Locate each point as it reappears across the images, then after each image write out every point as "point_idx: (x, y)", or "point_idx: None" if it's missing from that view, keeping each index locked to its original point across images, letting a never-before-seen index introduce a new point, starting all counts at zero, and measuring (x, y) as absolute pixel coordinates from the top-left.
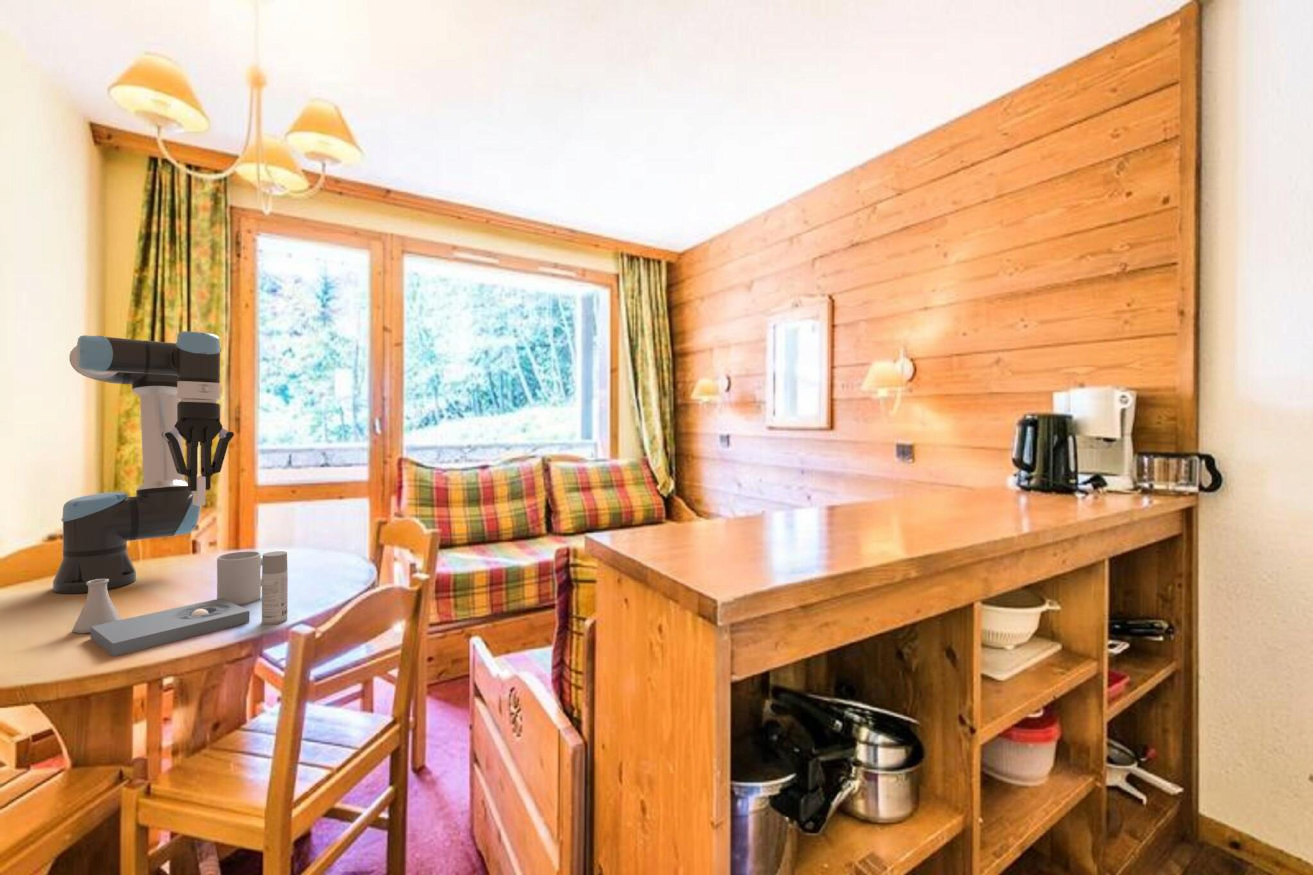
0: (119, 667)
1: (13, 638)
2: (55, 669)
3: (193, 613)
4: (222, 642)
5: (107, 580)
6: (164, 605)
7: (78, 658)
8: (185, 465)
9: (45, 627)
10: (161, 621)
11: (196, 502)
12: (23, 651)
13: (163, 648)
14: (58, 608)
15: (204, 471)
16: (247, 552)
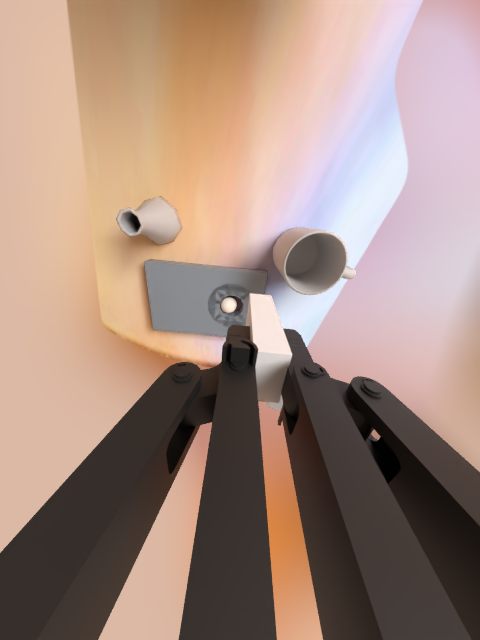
0: (158, 347)
1: (87, 176)
2: (124, 316)
3: (222, 307)
4: (220, 358)
5: (141, 230)
6: (236, 187)
7: (138, 305)
8: (179, 465)
9: (114, 155)
10: (195, 305)
11: (246, 324)
12: (101, 243)
13: (188, 336)
14: (127, 17)
15: (284, 421)
16: (342, 245)
